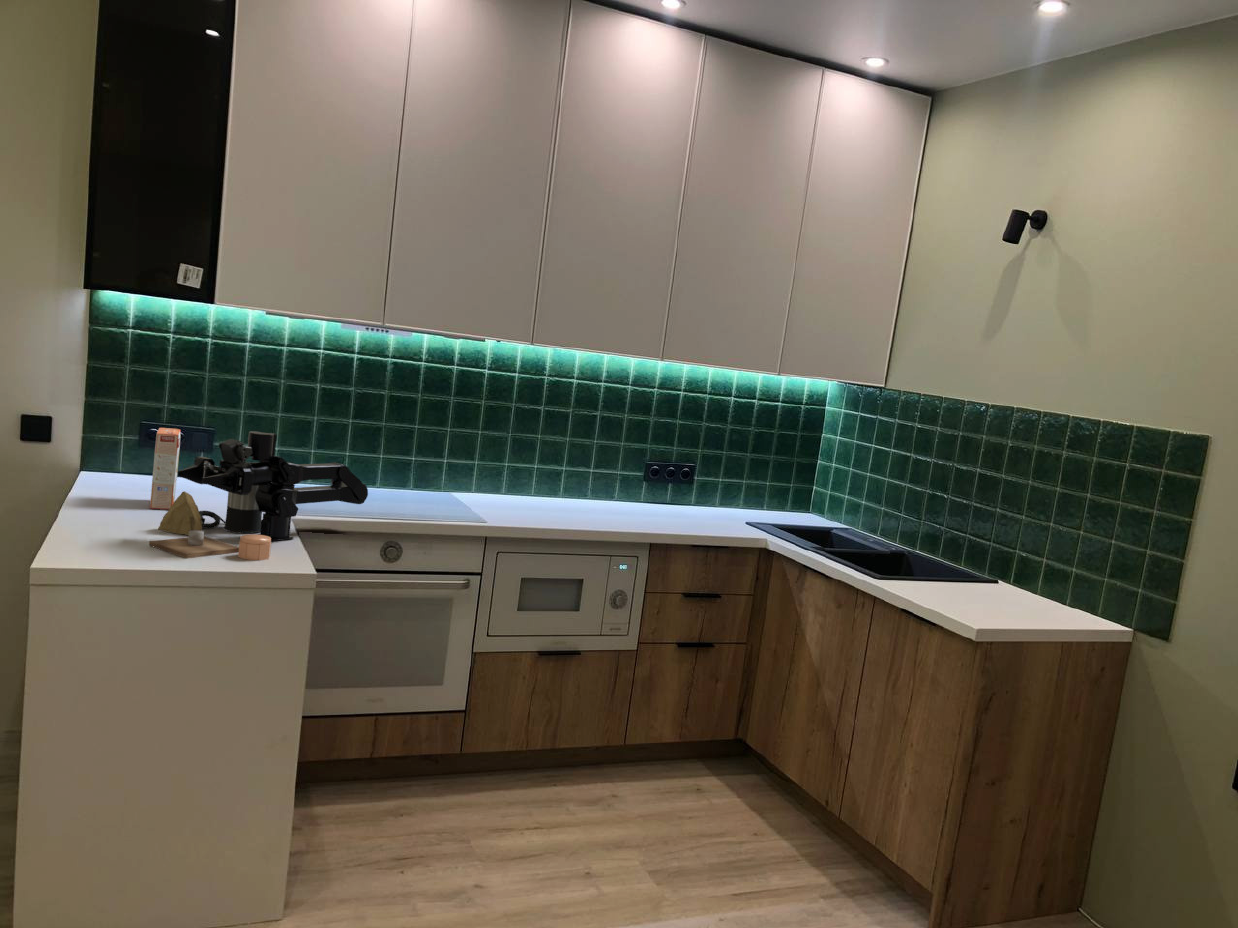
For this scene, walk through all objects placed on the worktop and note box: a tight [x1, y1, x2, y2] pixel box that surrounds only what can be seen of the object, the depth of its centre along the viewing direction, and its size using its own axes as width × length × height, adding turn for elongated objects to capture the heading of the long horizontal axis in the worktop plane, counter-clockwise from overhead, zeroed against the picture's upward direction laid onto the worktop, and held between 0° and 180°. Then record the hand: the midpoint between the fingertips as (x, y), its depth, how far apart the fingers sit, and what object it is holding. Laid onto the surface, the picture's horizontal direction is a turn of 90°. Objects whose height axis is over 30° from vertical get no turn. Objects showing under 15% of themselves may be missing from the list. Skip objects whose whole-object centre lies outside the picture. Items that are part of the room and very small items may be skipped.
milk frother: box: [199, 486, 263, 535], centre depth 254 cm, size 14×16×15 cm
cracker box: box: [149, 427, 181, 511], centre depth 273 cm, size 14×6×21 cm, turn 22°
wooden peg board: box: [148, 530, 239, 559], centre depth 229 cm, size 14×14×4 cm
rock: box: [157, 491, 203, 536], centre depth 243 cm, size 11×9×10 cm
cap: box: [237, 533, 272, 561], centre depth 229 cm, size 7×7×4 cm
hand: (190, 476), depth 227 cm, fingers open, 9 cm apart
